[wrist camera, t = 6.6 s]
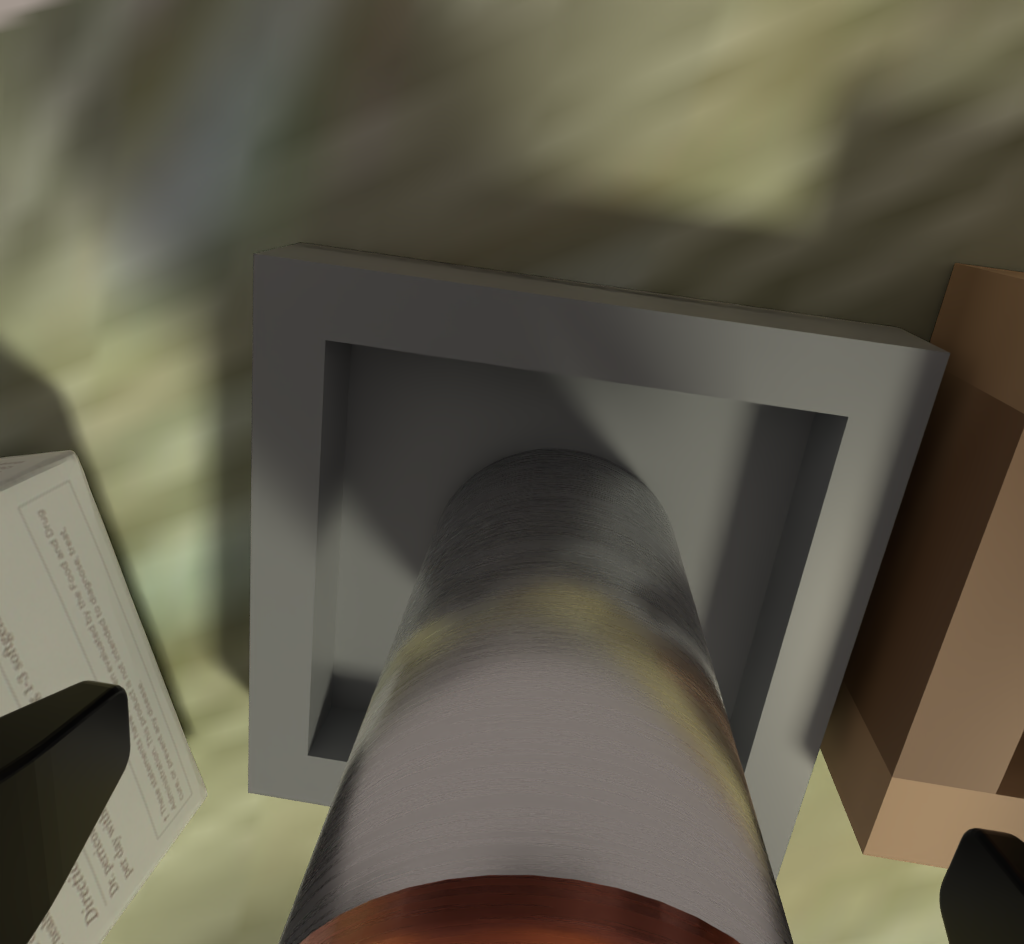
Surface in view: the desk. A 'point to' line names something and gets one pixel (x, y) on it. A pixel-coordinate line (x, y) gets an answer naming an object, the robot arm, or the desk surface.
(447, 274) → the tray
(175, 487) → the desk surface
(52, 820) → the robot arm
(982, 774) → the socket block
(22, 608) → the supplement box
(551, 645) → the grey and red cylinder
